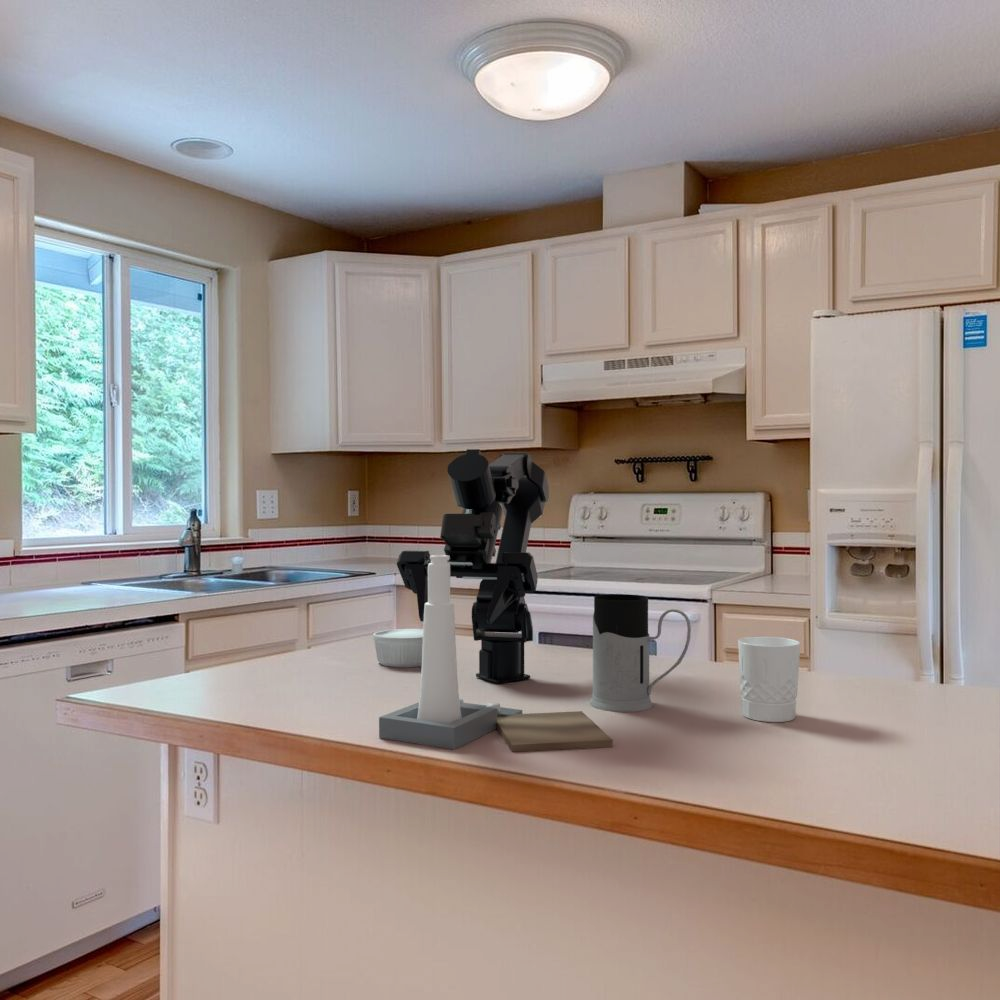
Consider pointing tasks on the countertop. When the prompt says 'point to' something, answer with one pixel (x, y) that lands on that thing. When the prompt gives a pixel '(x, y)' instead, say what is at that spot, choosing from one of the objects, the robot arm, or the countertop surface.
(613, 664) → the glass holder
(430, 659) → the cosmetic bottle
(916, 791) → the countertop surface
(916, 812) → the countertop surface
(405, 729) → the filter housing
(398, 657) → the ramekin
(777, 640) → the white cup
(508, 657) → the robot arm
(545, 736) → the walnut pad
